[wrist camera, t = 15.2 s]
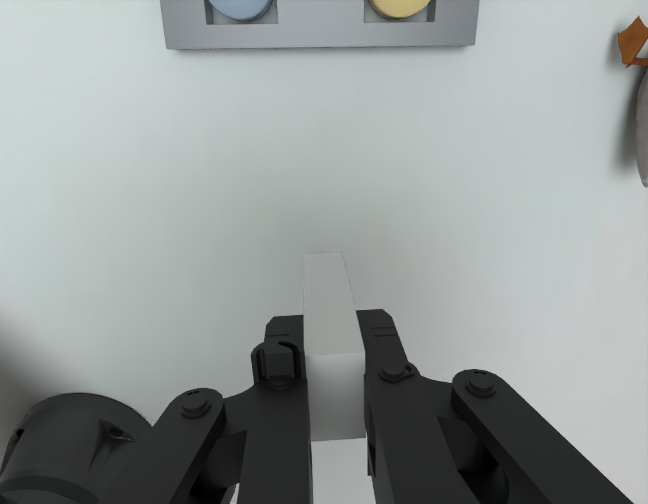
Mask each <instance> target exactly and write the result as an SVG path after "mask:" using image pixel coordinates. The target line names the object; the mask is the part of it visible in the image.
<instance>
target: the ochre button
mask: <svg viewBox="0 0 648 504" xmlns="http://www.w3.org/2000/svg"><path fill="white" fill-rule="evenodd" d="M368 1H369V3H370V5H371V7H372V8H373V9H374V11H375V12H376V13H378V14H379V15H380V16H382V17H384V18H387V19H391V20H398V19H403V18H405V17H408V16H410V15H412V14H414V13H416V12H418V11H420V10H421V9H423V8H424V7H425V6H426V5H427V4H428V3H429V1H430V0H368Z"/></svg>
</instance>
